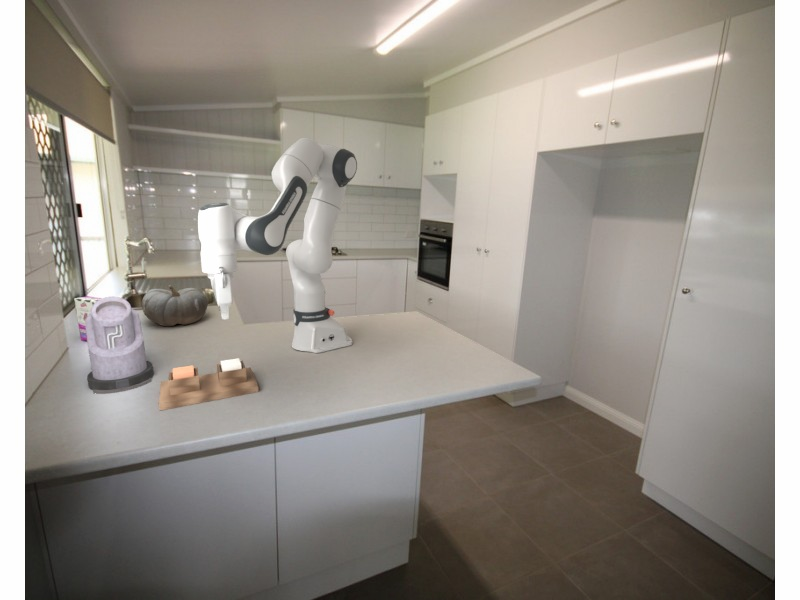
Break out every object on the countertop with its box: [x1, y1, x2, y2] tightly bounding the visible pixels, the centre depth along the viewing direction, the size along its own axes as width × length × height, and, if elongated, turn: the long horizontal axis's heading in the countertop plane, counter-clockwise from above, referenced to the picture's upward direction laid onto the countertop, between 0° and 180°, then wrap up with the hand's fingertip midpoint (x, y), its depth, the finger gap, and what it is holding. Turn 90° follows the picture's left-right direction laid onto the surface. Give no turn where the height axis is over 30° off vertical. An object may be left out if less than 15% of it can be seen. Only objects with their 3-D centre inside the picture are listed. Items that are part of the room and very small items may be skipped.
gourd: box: [141, 284, 209, 327], centre depth 174 cm, size 25×25×17 cm
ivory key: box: [220, 357, 242, 372], centre depth 114 cm, size 5×5×3 cm
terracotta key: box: [172, 364, 195, 380], centre depth 109 cm, size 5×5×3 cm
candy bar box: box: [73, 295, 102, 342], centre depth 149 cm, size 11×5×16 cm, turn 68°
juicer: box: [85, 296, 155, 395], centre depth 120 cm, size 30×16×24 cm, turn 36°
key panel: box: [158, 360, 259, 411], centre depth 112 cm, size 24×14×6 cm, turn 118°
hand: (223, 314), depth 111 cm, fingers open, 8 cm apart
